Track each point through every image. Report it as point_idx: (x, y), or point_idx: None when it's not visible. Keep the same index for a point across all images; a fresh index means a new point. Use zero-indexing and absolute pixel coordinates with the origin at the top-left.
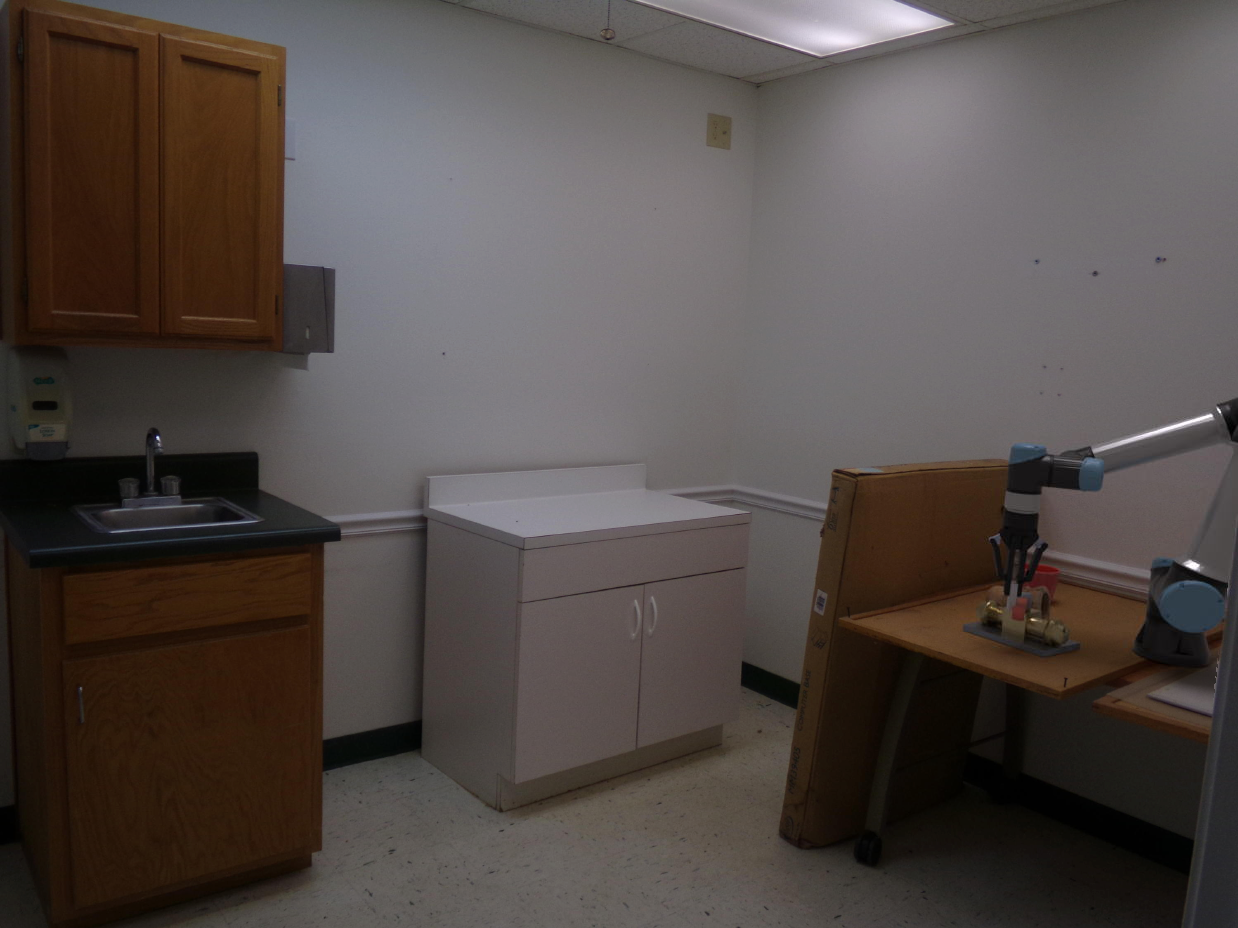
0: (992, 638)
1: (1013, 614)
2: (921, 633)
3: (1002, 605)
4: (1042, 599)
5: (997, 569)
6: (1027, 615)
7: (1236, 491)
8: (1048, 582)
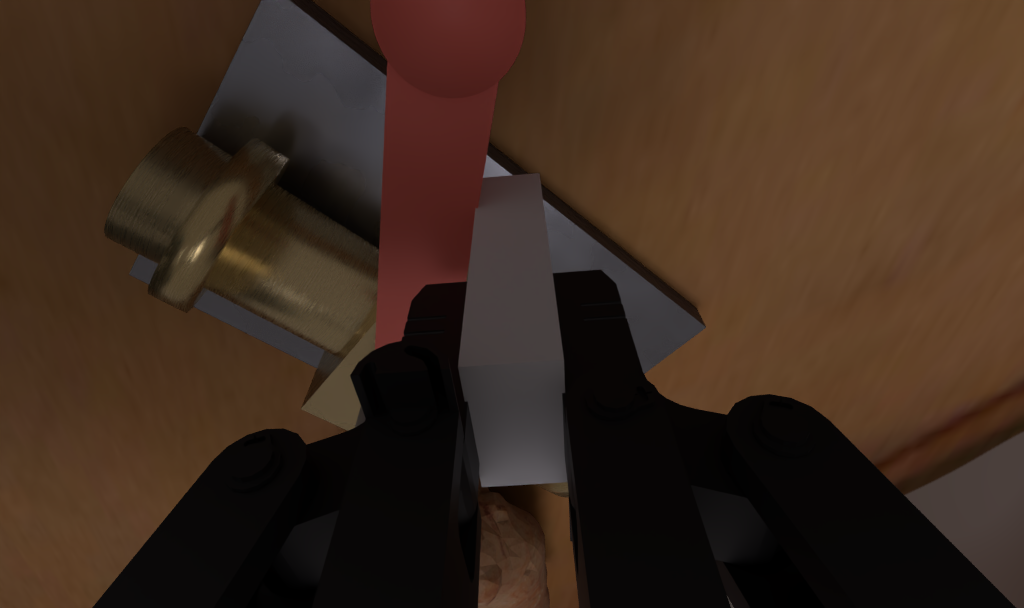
0: (576, 215)
1: None
2: (962, 166)
3: (504, 526)
4: None
5: (970, 574)
6: None
7: None
8: None
